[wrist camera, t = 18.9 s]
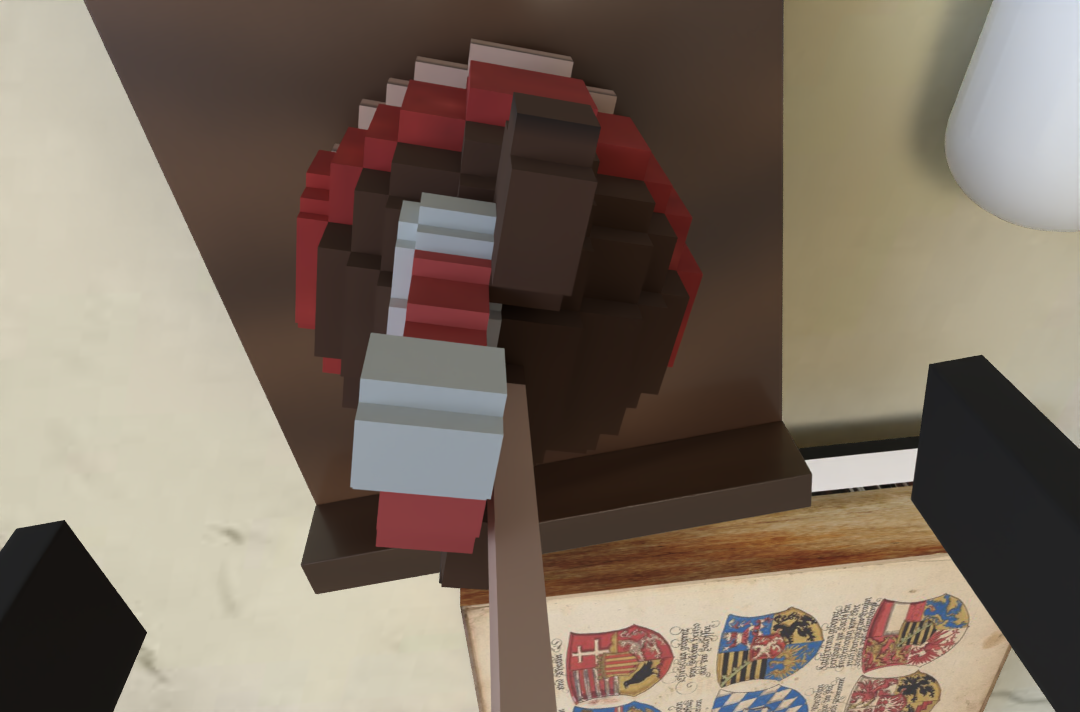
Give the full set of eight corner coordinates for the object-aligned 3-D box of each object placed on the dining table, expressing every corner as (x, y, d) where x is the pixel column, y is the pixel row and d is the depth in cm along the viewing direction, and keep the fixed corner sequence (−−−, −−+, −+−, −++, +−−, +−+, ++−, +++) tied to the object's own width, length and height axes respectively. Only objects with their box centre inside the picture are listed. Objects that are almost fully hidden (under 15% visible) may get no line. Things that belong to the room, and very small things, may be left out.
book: (1028, 397, 37) (453, 456, 36) (1124, 486, 31) (451, 559, 30) (921, 696, 50) (500, 746, 49) (975, 795, 45) (505, 853, 44)
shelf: (156, -44, 24) (9, -6, 16) (718, -160, 23) (835, -176, 16) (350, 438, 35) (315, 595, 27) (737, 367, 34) (811, 507, 27)
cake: (603, 367, 26) (774, 1031, 11) (330, 335, 25) (105, 1049, 10) (690, 48, 21) (1257, 511, 6) (345, -18, 19) (-116, 375, 4)
